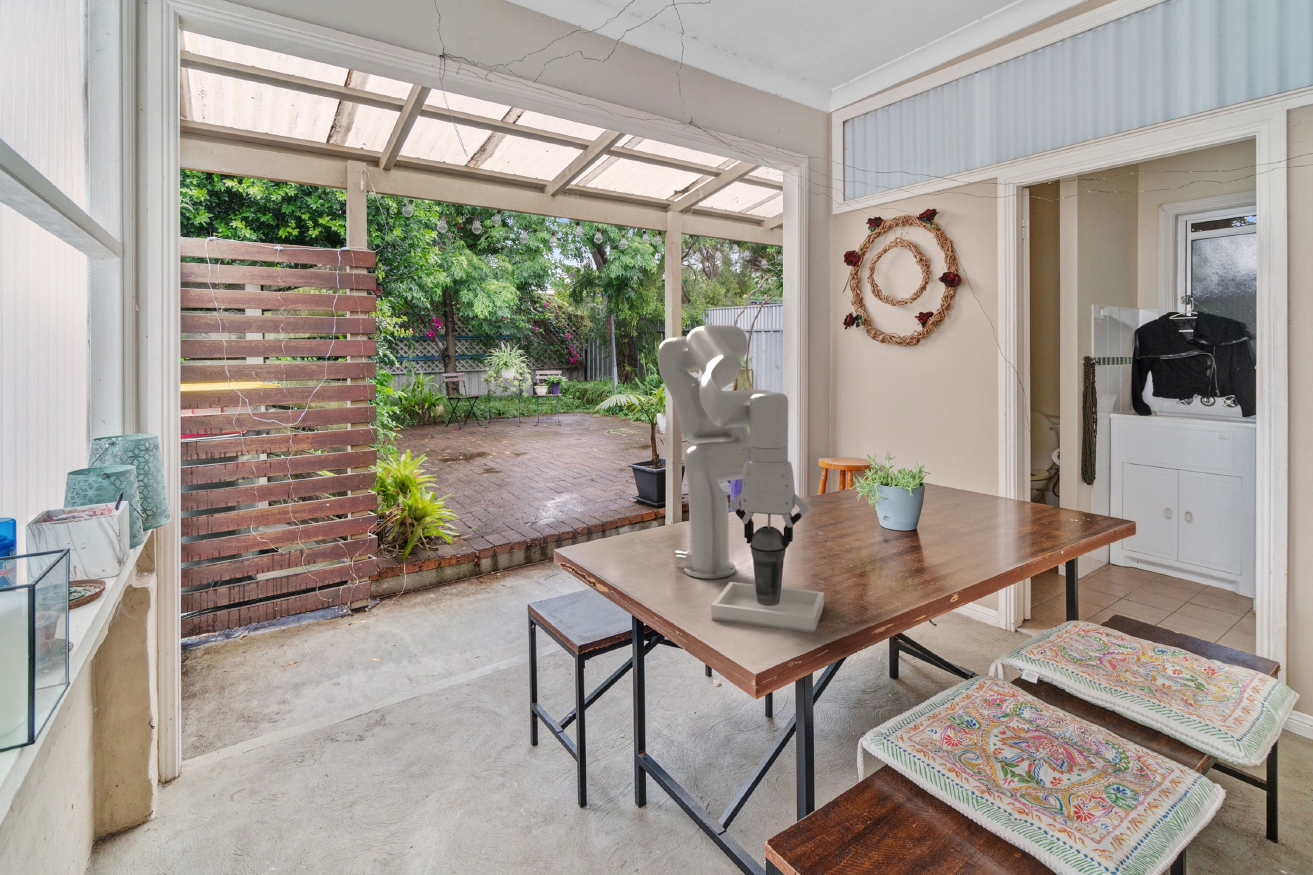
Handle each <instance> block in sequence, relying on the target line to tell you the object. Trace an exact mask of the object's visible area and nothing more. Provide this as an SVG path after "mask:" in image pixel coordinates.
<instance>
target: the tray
mask: <svg viewBox="0 0 1313 875" xmlns="http://www.w3.org/2000/svg"><path fill="white" fill-rule="evenodd" d="M824 606H825V592H824V591H817V590H816V591H815V590H807V589H799V588H798V589H797V588H790V587H789V588H788V587H781V595H780V603H779V604H777V605H774V606H765V605H761V604H759V603H758V602H757V595H756V587H755V583H754V584H751V583H745V582H736V581H735V582H734V581H729V582H728V583H727V585H726V586H725V587H724V589H723V590H722V591H721V592H720V593H719V595H718V596H717V597H716V598H715V600H714V601H713V602H712V603H711V605H710V608H711V610H710V611H711V614H710V615H711V617H710V618H711V620H712V621H713V620H714V621H721V622H729V623H734V624H741V625H748V626H749V625H751V626H758V627H764V628H773V629H781V630H786V631H793V632H802V633H807V634H808V633H809V634H815V632H816V630H817V627H818V624H819V621H820V618H821V616H822V613H823V610H824Z"/></svg>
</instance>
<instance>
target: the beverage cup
mask: <svg viewBox="0 0 1313 875" xmlns="http://www.w3.org/2000/svg"><path fill="white" fill-rule="evenodd" d="M771 515H772V514H767V525H765V526H761V527H759V528H757V530H756V531H754V534H753V536H752V539H751V543H750V546H749V548H750V553H751V557H752V562H753V572H754V574H753V575H754V584H755V587H756V595H757V602H758V603H759V604H761V605H765V606H774V605H777V604H779V603H780V595H781V588H782V584H783V570H784V560H785V557H786V553H787V552H786V551H787V548H788V547H785V546H784V533H782V531H781V530H780V529H778V528H777V527H775V526H771Z"/></svg>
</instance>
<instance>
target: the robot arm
mask: <svg viewBox="0 0 1313 875" xmlns="http://www.w3.org/2000/svg"><path fill="white" fill-rule="evenodd" d="M748 348H749V341H748V338H747V335H746V333H745V331H744V330H743V329H742V328H741V327H739V326H737V325H733V324H732V325H730V324H729V325H726V324H725V325H717V324H716V325H710V324H709V325H700V326H697V327H695V328H693V329H692V330H691V331H689V333H688V334H687V336H676V337H675V336H674V337H670V338H666V339H665V340H663V341H662V342H661V343H660V344H659V346H658V349H657V356H656V357H657V365H658V366H657V367H658V371H659V374H660V377H661V379H662V382H663V384H664V386H665V387H666V388H667V390H668V392H669V394H670V396H671V398H672V402H673V406H674V409H675V413H676V418H677V420H678V424H679V428H680V430H681V433H682V436H683V438H684V439H685V440H686V441H688V442H690V443H696V444H693V445H691V446H690V447H689V448H688V449H687V450H686V451H685V453H684V457H683V460H684V461H683V462H684V464H683V465H684V469H685V475H686V480H687V488H688V489H687V490H688V511H689V512H688V513H689V516H688V519H689V520H688V521H689V550H687V551H683V550H675V551H674V555H673V556H674V558H675V561H677V562H684V565H683V572H684V573H685V574H686V575H688V576H691V577H694V578H698V579H709V580H710V579H711V580H713V579H714V580H715V579H721V578H726V577H729V576H732V575H733V574H735V572H736V565H735V564H734V563H733V562H732V561H730V553H729V552H730V546H729V545H730V543H729V542H730V540H729V539H730V536H729V534H730V530H729V529H730V528H729V526H730V524H729V519H730V518H729V511H730V510H729V507H730V508H731V509H732V510H733V511H734V512H735V514H736V516H737V517H738V518H739V519H740V520H741V521H742V522H741V523H742V524H744V525H743V529H744V530H743V535H744V536H743V538H744V539H746V544H751V539H752V536H753V534H754V533H755V530H754V527H755V526H754V525H755V524H754V521H753V516H754V514H761V515H763V514H764V515H768V514H771V515H775V516H776V515H777V516H782V519H783V521H784V523H785V525H784V527H783V536H784V546H785V547H787V548H788V547H789V546H790V544H791V543H792V542H793V541H794V525H795V524H796V523H797V522H799V521H800V520H801V519H802V518H803V517H804V516H805V514H807V513H808V512H809V510H810V505H808V504H807V503H806V502H805V501H804V500H803V499H802V498H801V497H799V495H798V494H796V490H795V488H796V487H795V478H794V470H793V465H792V462H791V461H789V399H788V396H787V395H786V394H785V393H783V392H773V391H769V390H765V389H747V390H746V389H743V390H742V389H741V390H739V389H738V390H722V389H724V388H725V387H728V386H729V385H731V384H733V383H734V382H735V380H737V378H738V377H739V376H740V372H741V369H742V363H741V360H742V359H744V358H745V356H746V355H747V352H748ZM689 371H701V373H702V377H701V379H700V381H699V380H698V379H697V378H696V377H695V376H693V374H691V373H689ZM748 427H749V428H748ZM734 480H735V481H736V480H742V481H741V482H742V483H741V492H740V493H739V494H738V495H737V496H735V497H734V498H733V499H732V500H730V501H729V499H728V496H727V494H726V492H725V491H724V490H723V489H722V487H721V486H720V484H719V483H720V482H726V481H734ZM739 503H740V504H741V506H740V504H739ZM795 506H797V507H798V508H799V510H798V511H797V512H796V513H795V514H794V515H793V513H792V512H793V509H795Z"/></svg>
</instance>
